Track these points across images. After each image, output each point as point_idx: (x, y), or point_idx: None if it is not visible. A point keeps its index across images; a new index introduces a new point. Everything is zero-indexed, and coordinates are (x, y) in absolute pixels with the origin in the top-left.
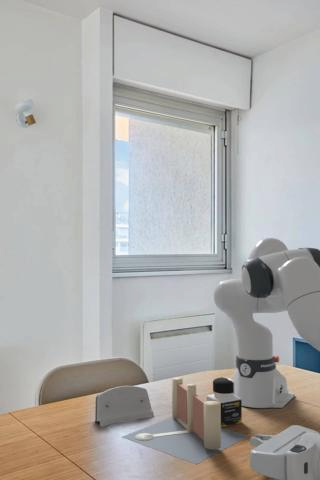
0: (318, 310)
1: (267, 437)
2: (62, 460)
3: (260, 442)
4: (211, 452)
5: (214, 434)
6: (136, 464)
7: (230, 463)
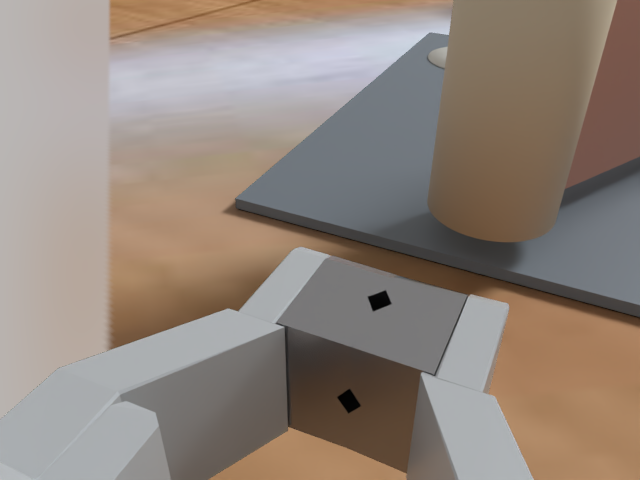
0: None
1: (444, 478)
2: (209, 5)
3: (110, 370)
4: (444, 232)
5: (452, 114)
6: (211, 82)
7: None
